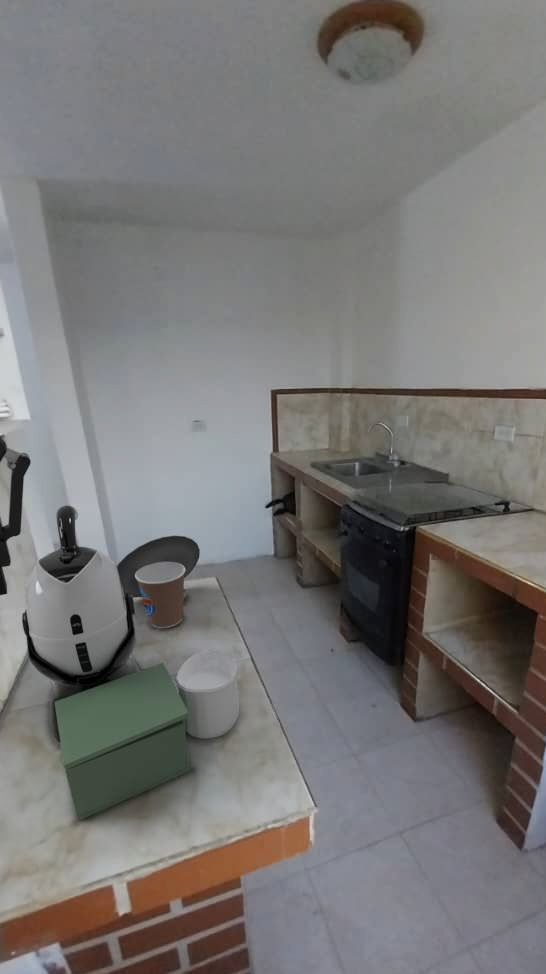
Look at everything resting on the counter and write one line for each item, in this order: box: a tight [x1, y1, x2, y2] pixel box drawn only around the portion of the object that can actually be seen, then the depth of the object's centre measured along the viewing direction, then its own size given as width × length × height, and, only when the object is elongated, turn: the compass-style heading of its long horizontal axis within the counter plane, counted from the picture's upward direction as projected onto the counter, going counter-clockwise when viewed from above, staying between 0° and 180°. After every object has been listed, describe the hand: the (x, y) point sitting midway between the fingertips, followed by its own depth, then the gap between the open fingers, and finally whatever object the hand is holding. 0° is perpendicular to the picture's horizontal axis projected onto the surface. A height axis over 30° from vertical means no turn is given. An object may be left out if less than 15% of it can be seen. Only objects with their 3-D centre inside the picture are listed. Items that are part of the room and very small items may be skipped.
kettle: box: [21, 504, 141, 744], centre depth 74 cm, size 24×16×32 cm, turn 25°
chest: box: [64, 720, 191, 821], centre depth 65 cm, size 15×13×9 cm
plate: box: [117, 535, 201, 599], centre depth 106 cm, size 21×21×2 cm
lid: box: [55, 662, 189, 771], centre depth 63 cm, size 15×13×1 cm
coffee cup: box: [135, 562, 185, 629], centre depth 100 cm, size 10×10×12 cm
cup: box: [175, 649, 240, 739], centre depth 73 cm, size 10×10×10 cm
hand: (0, 590), depth 58 cm, fingers closed
